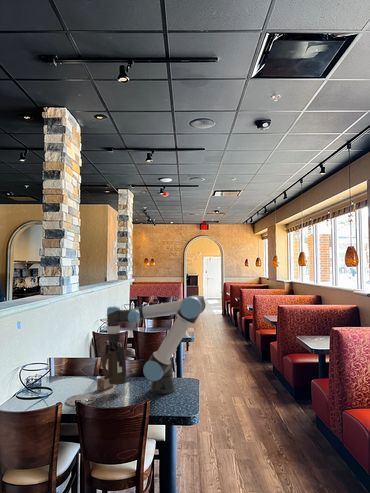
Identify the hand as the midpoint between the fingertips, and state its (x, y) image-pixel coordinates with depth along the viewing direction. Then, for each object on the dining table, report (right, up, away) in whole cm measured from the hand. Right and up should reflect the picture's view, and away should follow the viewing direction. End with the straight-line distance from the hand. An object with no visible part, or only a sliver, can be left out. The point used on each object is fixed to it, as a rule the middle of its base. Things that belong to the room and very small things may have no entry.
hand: (114, 371), depth 226 cm
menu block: (-7, -14, +10) cm, 19 cm away
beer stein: (0, -7, 0) cm, 7 cm away
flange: (-17, -13, -12) cm, 24 cm away
